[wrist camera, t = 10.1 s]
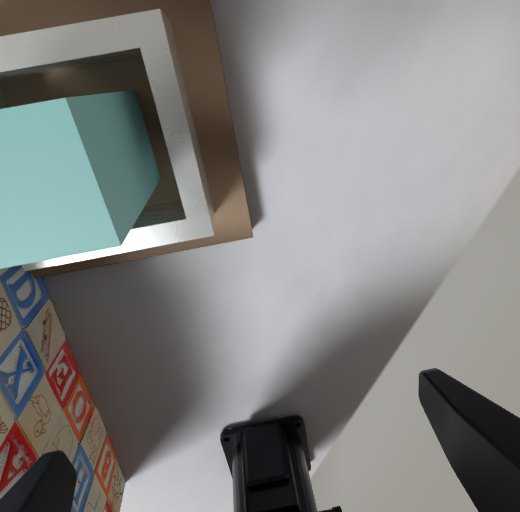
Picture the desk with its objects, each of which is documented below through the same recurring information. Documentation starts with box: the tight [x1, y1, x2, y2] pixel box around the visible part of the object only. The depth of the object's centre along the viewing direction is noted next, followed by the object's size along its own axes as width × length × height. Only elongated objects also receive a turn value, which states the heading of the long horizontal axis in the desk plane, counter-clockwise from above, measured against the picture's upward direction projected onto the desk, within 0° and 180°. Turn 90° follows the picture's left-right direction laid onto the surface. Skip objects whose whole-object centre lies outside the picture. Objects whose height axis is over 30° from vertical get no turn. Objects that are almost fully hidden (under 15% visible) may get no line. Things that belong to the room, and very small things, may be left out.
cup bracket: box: [0, 9, 215, 271], centre depth 15 cm, size 8×8×3 cm
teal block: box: [0, 90, 161, 269], centre depth 13 cm, size 4×4×8 cm
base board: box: [0, 0, 253, 279], centre depth 17 cm, size 12×12×1 cm
